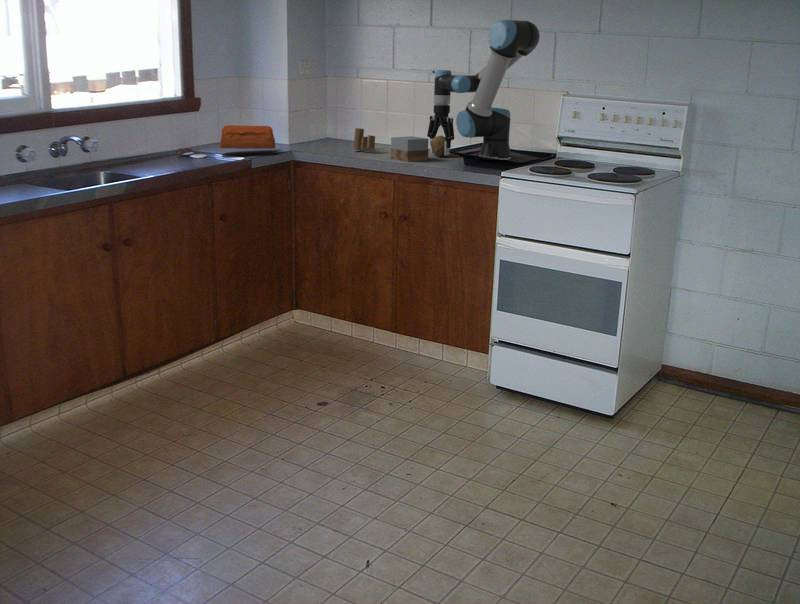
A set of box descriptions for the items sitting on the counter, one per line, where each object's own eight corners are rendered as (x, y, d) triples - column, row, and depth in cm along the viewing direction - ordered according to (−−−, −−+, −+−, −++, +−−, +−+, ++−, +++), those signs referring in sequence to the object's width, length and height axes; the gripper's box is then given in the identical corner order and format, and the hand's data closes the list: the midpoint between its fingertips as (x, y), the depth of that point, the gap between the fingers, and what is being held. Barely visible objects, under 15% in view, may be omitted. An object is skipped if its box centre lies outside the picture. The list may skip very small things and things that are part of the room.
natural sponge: (445, 156, 416) (446, 134, 413) (452, 158, 408) (453, 136, 405) (427, 156, 413) (428, 134, 411) (434, 158, 405) (434, 136, 403)
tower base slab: (428, 161, 398) (428, 150, 397) (407, 162, 391) (407, 151, 389) (411, 158, 407) (411, 147, 406) (390, 159, 400) (391, 148, 398)
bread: (220, 145, 437) (220, 124, 434) (275, 146, 441) (274, 124, 438) (219, 149, 422) (218, 126, 419) (275, 149, 426) (275, 127, 423)
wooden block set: (377, 152, 423) (379, 131, 421) (360, 151, 420) (362, 129, 418) (365, 149, 440) (367, 128, 437) (349, 148, 436) (351, 127, 434)
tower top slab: (428, 149, 397) (428, 138, 395) (407, 151, 390) (407, 139, 388) (411, 147, 406) (411, 136, 404) (390, 148, 399) (391, 137, 397)
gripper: (464, 105, 398) (461, 156, 405) (432, 102, 414) (430, 151, 421) (451, 106, 394) (449, 156, 400) (420, 103, 410) (418, 151, 416)
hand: (439, 153), depth 410 cm, fingers closed on natural sponge, 9 cm apart
